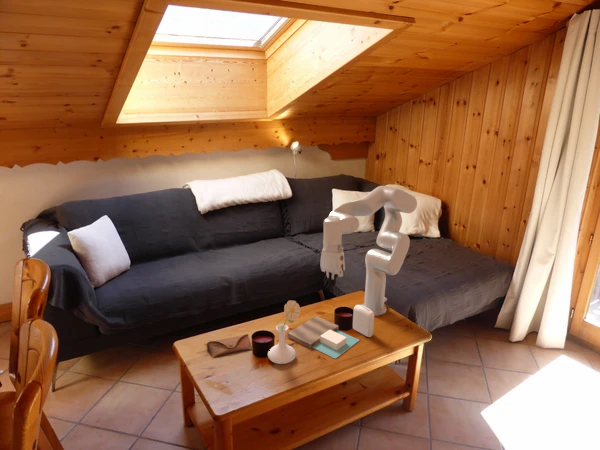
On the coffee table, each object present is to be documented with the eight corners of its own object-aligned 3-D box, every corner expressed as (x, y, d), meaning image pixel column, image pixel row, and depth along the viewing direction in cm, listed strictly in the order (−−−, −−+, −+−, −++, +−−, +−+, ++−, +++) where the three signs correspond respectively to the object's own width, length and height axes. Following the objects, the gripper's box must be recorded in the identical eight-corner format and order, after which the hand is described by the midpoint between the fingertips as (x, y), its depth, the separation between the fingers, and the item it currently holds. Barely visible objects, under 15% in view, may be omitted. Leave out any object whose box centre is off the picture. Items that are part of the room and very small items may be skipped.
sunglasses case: (211, 359, 162) (208, 342, 163) (208, 358, 168) (206, 342, 170) (254, 349, 169) (251, 333, 170) (250, 349, 175) (247, 333, 177)
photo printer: (350, 328, 186) (352, 304, 183) (357, 325, 189) (359, 301, 185) (368, 338, 179) (369, 313, 175) (374, 335, 181) (376, 310, 178)
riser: (316, 319, 193) (316, 315, 192) (338, 329, 185) (338, 325, 184) (287, 336, 178) (287, 332, 178) (310, 348, 170) (310, 344, 170)
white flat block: (329, 335, 180) (329, 329, 179) (346, 343, 174) (346, 337, 173) (319, 342, 175) (319, 335, 174) (336, 350, 169) (336, 344, 168)
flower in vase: (272, 369, 157) (272, 311, 149) (264, 353, 167) (263, 297, 160) (304, 362, 161) (305, 305, 154) (293, 346, 172) (294, 292, 164)
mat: (337, 330, 184) (337, 329, 184) (359, 340, 177) (359, 340, 177) (311, 347, 171) (312, 346, 171) (335, 359, 164) (335, 358, 164)
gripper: (352, 248, 169) (351, 287, 175) (323, 240, 178) (323, 278, 184) (342, 253, 164) (341, 294, 170) (312, 245, 173) (312, 284, 179)
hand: (331, 286), depth 177 cm, fingers closed
